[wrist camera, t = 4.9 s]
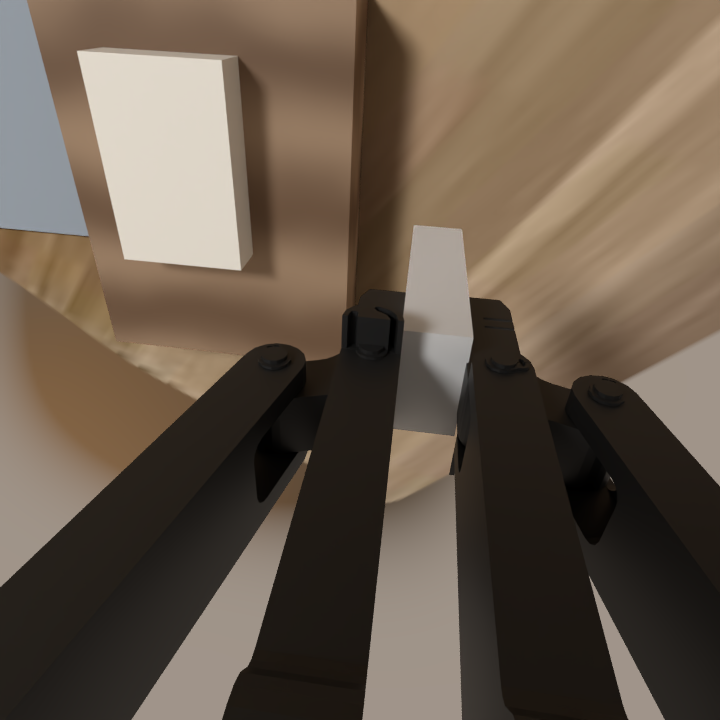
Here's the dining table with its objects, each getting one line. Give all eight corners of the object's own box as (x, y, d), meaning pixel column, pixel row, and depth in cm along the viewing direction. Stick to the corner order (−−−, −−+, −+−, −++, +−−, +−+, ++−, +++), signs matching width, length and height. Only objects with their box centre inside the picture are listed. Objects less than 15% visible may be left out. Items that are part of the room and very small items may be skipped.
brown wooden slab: (75, -24, 25) (19, -28, 21) (368, -9, 24) (356, -10, 20) (146, 309, 35) (116, 341, 32) (353, 331, 34) (344, 366, 31)
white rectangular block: (103, 47, 23) (77, 50, 21) (237, 55, 22) (221, 60, 20) (143, 244, 28) (124, 259, 26) (253, 254, 27) (241, 270, 26)
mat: (-138, -35, 26) (-143, -36, 25) (75, -24, 25) (71, -24, 24) (-35, 222, 33) (-39, 224, 33) (131, 238, 32) (129, 239, 32)
